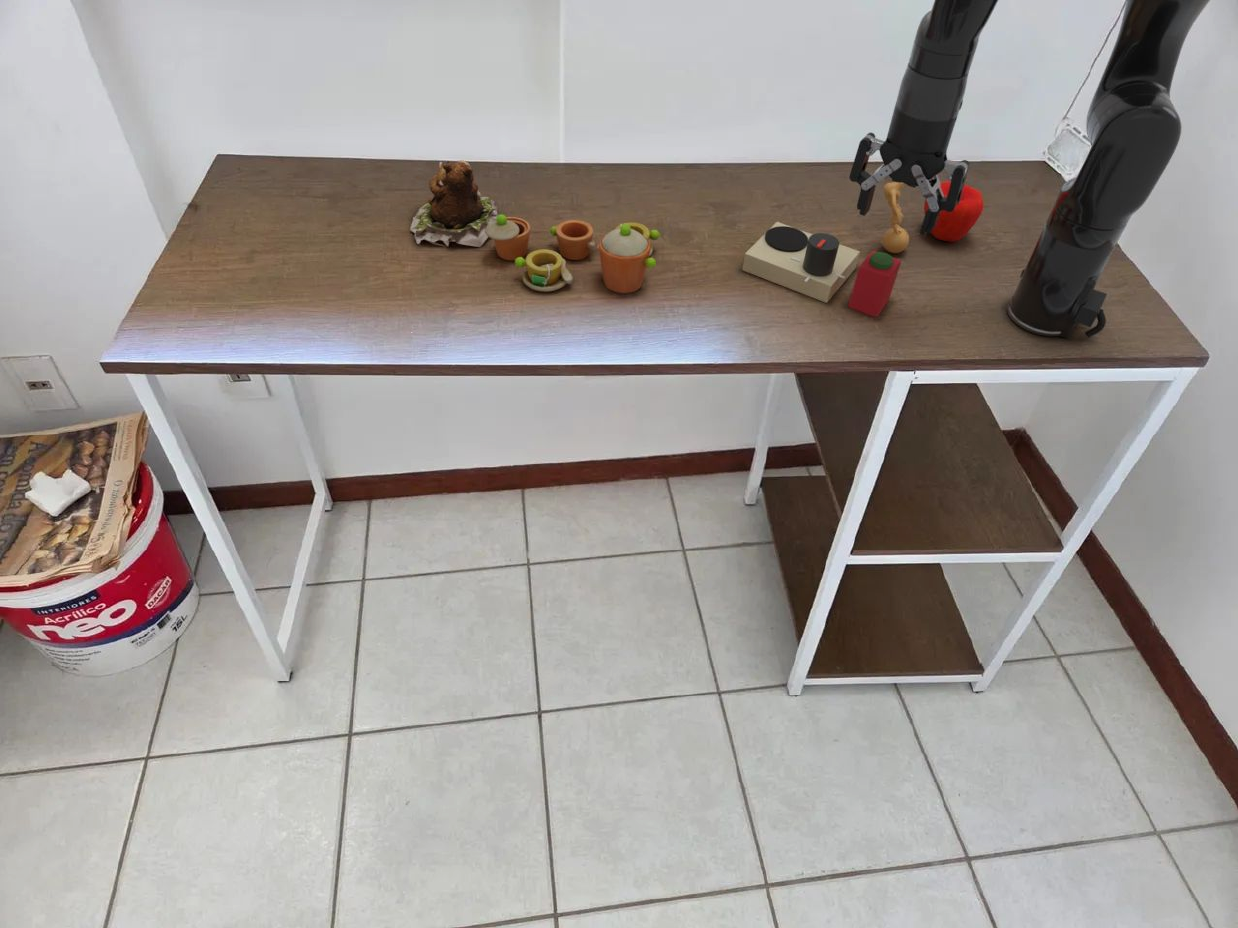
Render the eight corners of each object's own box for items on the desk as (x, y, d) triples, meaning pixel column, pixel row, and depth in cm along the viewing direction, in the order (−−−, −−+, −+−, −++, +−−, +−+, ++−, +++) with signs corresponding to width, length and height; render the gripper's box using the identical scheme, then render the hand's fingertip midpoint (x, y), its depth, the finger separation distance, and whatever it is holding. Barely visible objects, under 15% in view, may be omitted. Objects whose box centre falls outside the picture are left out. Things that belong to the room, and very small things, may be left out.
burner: (814, 237, 134) (815, 235, 134) (796, 257, 130) (797, 255, 130) (776, 223, 136) (776, 221, 136) (757, 242, 132) (757, 240, 132)
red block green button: (888, 300, 129) (903, 255, 123) (876, 317, 126) (890, 272, 120) (860, 290, 130) (874, 245, 125) (847, 307, 127) (860, 261, 122)
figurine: (908, 267, 135) (932, 196, 126) (869, 264, 135) (890, 193, 126) (901, 237, 141) (923, 168, 132) (863, 234, 141) (883, 165, 132)
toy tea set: (656, 239, 137) (660, 183, 130) (664, 298, 127) (669, 240, 120) (489, 237, 136) (484, 180, 129) (483, 297, 125) (478, 238, 118)
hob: (860, 270, 134) (865, 252, 132) (828, 309, 127) (833, 291, 124) (773, 238, 139) (777, 220, 137) (737, 274, 132) (740, 256, 129)
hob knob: (809, 256, 130) (816, 227, 127) (837, 265, 129) (844, 237, 125) (797, 269, 128) (804, 241, 124) (825, 280, 126) (832, 251, 123)
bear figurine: (507, 202, 143) (503, 130, 134) (489, 253, 133) (483, 179, 124) (425, 194, 144) (416, 123, 135) (401, 244, 133) (389, 171, 125)
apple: (905, 224, 143) (918, 180, 138) (951, 217, 146) (966, 173, 140) (934, 254, 138) (950, 209, 132) (981, 246, 140) (999, 202, 134)
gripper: (861, 100, 107) (834, 218, 118) (976, 132, 102) (935, 252, 113) (883, 79, 111) (855, 195, 123) (994, 109, 106) (954, 227, 118)
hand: (893, 222), depth 118 cm, fingers open, 8 cm apart
